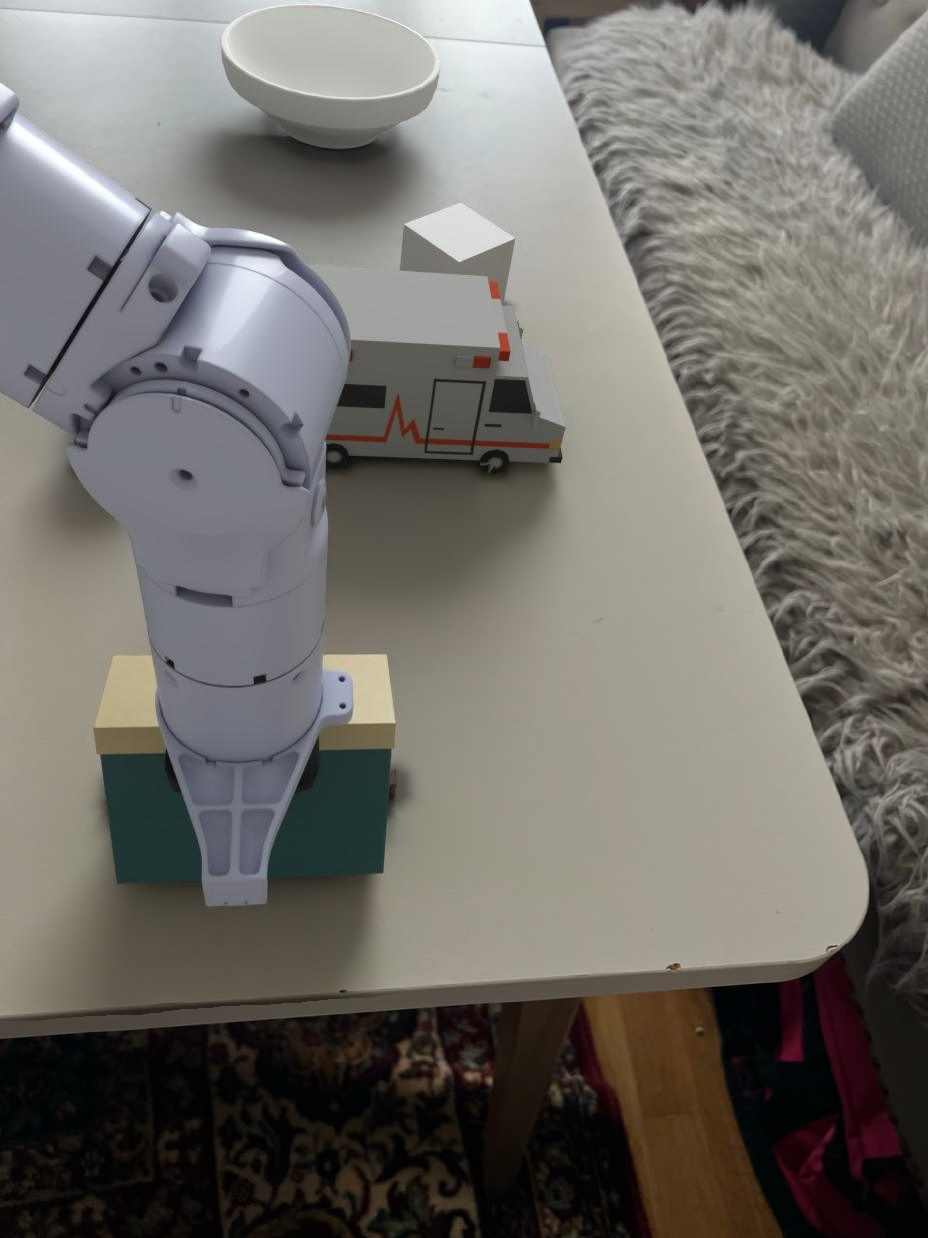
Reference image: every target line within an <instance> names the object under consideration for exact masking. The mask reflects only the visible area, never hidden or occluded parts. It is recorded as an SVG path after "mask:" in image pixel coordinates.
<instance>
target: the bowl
mask: <svg viewBox="0 0 928 1238" xmlns="http://www.w3.org/2000/svg"><path fill="white" fill-rule="evenodd" d="M219 39H220V41H219V42H220V53H221V60H222V61H221V62H222V65H223V69H224V72H225V75H226V78H227V80H228V83H229V85H230V87H231V88H232V89H233V90H234V91H235V92H236V94H237V95H238V96H239V97H240V98H242V99H243V100H245V101H246V102H247V103H249V104H251V105H252V106H254V107H256V108H257V109H259V110H260V111H261V112H262V113H264V114H265V115H267V116H268V117H269V118H271V119H272V120H274V121H275V122H277V123H278V125H279V127H280V128H281V130H283V132H284V133H286V134H287V135H288V136H290V137H291V138H293V139H295V140H297V141H299V142H302V143H304V144H307V145H309V146H314V147H318V148H323V149H337V150H341V149H342V150H343V149H353V148H359V147H364V146H366V145H368V144H371V143H372V142H374V141H376V140H377V139H378V138H379V137H380V135H382V133H384V132H385V131H388V130H389V129H391V128H394V127H396V126H397V125H399V124H401V123H403V122H406V121H408V120H410V119H412V118H415V117H416V116H418V115H420V114H421V113H422V112H423V111H425V110H426V109H427V108H428V107H429V105H430V104H431V102H432V101H433V98H434V95H435V93H436V90H437V87H438V84H439V78H440V72H441V64H442V62H441V58H440V56H439V53H438V51H437V50H436V49H435V47H434V46H433V45H432V43H431V42H430V41H428V40H427V39H426V38H425V36H422V34H421V33H419V32H417V31H415V30H414V29H412V28H410V27H409V26H407V25H405V24H403V23H400V22H398V21H397V20H394V19H392V18H389V17H385V16H382V15H379V14H377V13H373V12H370V11H365V10H361V9H357V8H351V7H346V6H339V5H331V4H321V3H320V4H318V3H292V4H281V5H273V6H268V7H262V8H258V9H256V10H252V11H249V12H246V13H244V14H242V15H241V16H238V17H237V18H235V19H233V20H232V21H231V22H230V23H229V24H228V25H227V26H226V27H225V28H224V29H223V32H222V33H221V36H220V38H219Z"/></svg>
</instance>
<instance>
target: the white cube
mask: <svg viewBox="0 0 928 1238" xmlns="http://www.w3.org/2000/svg"><path fill="white" fill-rule="evenodd" d="M401 240H402V242H401V253H400V263H399V271H413V272H428V273H443V274H458V275H473V276H487V277H488V281H496V282H497V283H498V289H499V294H500V299H501V304H502V305H504V303H505V298H506V292H507V286H508V280H509V276H510V270H511V265H512V259H513V255H514V248H515V244H516V243H515V242H516V237H514V236H513V235H511V234H509V233H508V232H507V231H505V230H503V228H501V227H499V226H497V225H496V224H494V223H493V222H491V221H490V220H489V219H487V218H486V217H484V216H482V215H481V214H480V213H477V212H476V211H475V210H473V209H472V208H470V207H468V206H467V205H466V204H464V203H462V202H458V203H455V204H453V205H450V206H447V207H445V208H443V209H440V210H437V211H435V212H431V213H429V214H426V215H424V216H422V217H418V218H416V219H413V220H410V221H408V222H405V223H403V230H402V239H401Z"/></svg>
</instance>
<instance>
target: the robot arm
mask: <svg viewBox="0 0 928 1238" xmlns="http://www.w3.org/2000/svg"><path fill="white" fill-rule="evenodd" d="M20 104H21V103H20V98H19V96H18V94H17V93H16V92H15V91H13V90H12V89H10V88H9V87H8V86H7V85H5V84H4V83H2V82H1V81H0V393H1V394H3V395H4V396H6V397H7V398H9V399H11V400H12V401H15V403H18V404H19V405H21V406H23V407H24V408H26V409H30V408H31V407H32V405H33V403H34V402H35V404H34V406H33V408H32V412H33V413H34V414H36V415H37V416H40V417H42V418H43V419H45V421H46V420H47V421H48V422H50V423H51V424H53V425H55V426H57V427H59V428H60V429H61V430H63V431H65V432H67V433H68V434H70V435H71V436H73V437H74V438H75V437H77V438H76V442H77V444H78V445H76V444H75V443H68V444H67V445H65V447H64V448H65V449H64V451H65V453H66V456H67V458H68V461H69V463H70V466H71V468H72V470H73V472H74V474H75V475H76V477H77V479H78V480H79V482H80V483H81V485H82V486H83V488H84V489H85V490H86V492H87V493H88V495H90V497H91V498H92V499H93V500H94V501H95V502H96V503H97V504H99V506H100V507H101V508H102V509H104V510H105V511H106V512H107V513H108V514H109V515H111V517H112V518H114V519H115V520H116V521H117V523H119V525H120V526H121V527H122V528H123V530H125V532H126V534H127V536H128V538H129V541H130V544H131V549H132V554H133V560H134V565H135V567H136V568H135V569H136V573H137V579H138V584H139V591H140V596H141V601H142V607H143V613H144V618H145V623H146V630H147V631H146V632H147V635H148V641H149V647H150V655H152V660H153V666H154V671H155V677H156V682H157V688H156V693H155V709H156V715H157V720H158V724H159V728H160V731H161V734H162V737H163V740H164V743H165V746H166V751H165V761H164V765H165V773H166V777H167V780H168V782H169V784H170V787H171V788H172V790H173V791H175V792H177V793H182V795H183V798H184V801H185V804H186V807H187V809H188V812H189V815H190V818H191V821H192V824H193V827H194V830H195V833H196V836H197V839H198V843H199V846H200V850H201V856H202V881H201V885H202V892H203V898H204V902H205V906H206V907H235V906H236V907H239V906H240V907H241V906H255V905H266V904H267V902H268V878H267V870H268V862H269V857H270V853H271V849H272V846H273V844H274V841H275V838H276V835H277V832H278V830H279V828H280V825H281V823H282V821H283V818H284V816H285V813H286V811H287V809H288V806H289V804H290V802H291V799H292V797H293V795H294V794H296V793H298V792H301V791H304V790H308V789H310V788H311V787H312V786H313V784H314V782H315V780H316V778H317V775H318V771H319V733H320V732H321V730H322V729H324V728H325V727H327V726H340V725H344V724H347V723H348V722H349V721H350V720H351V719H352V715H353V707H354V703H353V681H352V678H351V676H350V675H349V674H348V673H347V672H344V671H340V670H326V669H324V668H323V655H324V646H325V645H324V644H325V643H324V642H325V620H326V619H325V617H326V594H327V593H326V592H327V591H326V590H327V566H328V565H327V564H328V543H329V542H328V539H329V517H328V511H327V505H326V503H327V486H326V484H327V483H326V468H327V467H326V442H325V439H326V436H327V433H328V430H329V427H330V424H331V421H332V418H333V415H334V412H335V409H336V406H337V403H338V401H339V398H340V395H341V392H342V390H343V387H344V384H345V380H346V377H347V371H348V363H349V359H350V352H351V337H350V330H349V326H348V322H347V319H346V316H345V314H344V311H343V309H342V307H341V305H340V303H339V301H338V299H337V298H336V296H335V295H334V293H333V292H332V290H331V289H330V288H329V286H328V285H327V284H326V283H325V282H324V280H323V279H322V278H321V277H320V276H319V275H318V274H317V273H316V272H315V271H314V270H312V269H311V268H310V267H309V266H308V264H306V263H305V261H304V260H303V259H302V258H301V256H300V255H299V253H298V252H297V251H296V249H294V248H293V246H291V245H290V244H288V243H286V242H284V241H282V240H280V239H277V238H275V237H272V236H270V235H266V234H264V233H260V232H256V231H253V230H247V229H242V228H230V227H229V228H228V227H220V228H219V227H214V228H213V227H208V226H207V227H206V226H203V225H200V224H198V223H196V222H193V221H192V220H191V219H189V218H187V217H186V216H184V215H183V214H182V213H180V212H179V211H176V212H175V214H174V215H171V214H169V213H167V212H165V211H164V210H157V211H155V212H154V213H153V214H152V215H151V212H152V210H153V209H152V208H151V207H150V206H149V205H147V204H146V203H144V202H143V201H142V200H140V199H139V198H137V197H136V196H135V195H133V194H132V193H131V192H129V191H128V190H126V189H125V188H123V187H122V186H120V185H119V184H118V183H116V182H115V181H114V180H112V179H111V178H110V177H108V176H107V175H105V174H104V173H102V172H101V171H99V170H98V169H97V168H96V167H94V166H92V165H91V164H90V163H88V162H87V161H86V160H84V159H83V158H81V157H80V156H78V155H77V154H76V153H74V152H73V151H71V150H70V149H69V148H67V147H66V146H65V145H63V144H62V143H61V142H59V141H58V140H56V139H55V138H54V137H52V136H51V135H50V134H48V133H47V132H45V131H44V130H42V129H41V128H40V127H38V125H36V124H34V123H33V122H31V121H30V120H28V119H27V118H26V117H24V116H23V115H22V114H21V113H19V112H18V109H19V107H20ZM150 215H151V216H150ZM149 216H150V218H149ZM148 218H149V219H148ZM147 220H148V221H147ZM36 399H37V400H36Z"/></svg>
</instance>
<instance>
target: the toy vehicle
mask: <svg viewBox="0 0 928 1238" xmlns="http://www.w3.org/2000/svg"><path fill="white" fill-rule="evenodd" d="M307 266H309V267H310V268H311V269H312V270H314V271H315V272H316V273H317V274H318V275H319V276H320V277H321V278H322V279H323V280H324V282H325V283H326V284H327V285H328V286H329V288H330V289H331V290H332V292H333V293H334V295H335V296H336V298H337V299H338V301H339V303H340V305H341V307H342V309H343V311H344V314H345V316H346V319H347V322H348V326H349V330H350V337H351V352H350V359H349V363H348V371H347V377H346V380H345V384H344V387H343V390H342V392H341V395H340V398H339V401H338V403H337V406H336V409H335V412H334V415H333V418H332V421H331V424H330V427H329V430H328V433H327V436H326V439H325V442H326V468H329V469H338V468H341V467H343V466H345V465H346V464H348V463H347V462H348V461H349V458H350V456H355V457H383V458H407V459H437V460H461V461H463V460H465V461H479V464H480V465H479V466H480V469H481V470H482V471H483V472H484V473H487V474H491V475H495V474H500V473H502V472H503V471H506V470H507V469H508V467H509V465H510V462H514V463H515V462H516V463H540V464H541V463H543V464H562V461H563V458H564V456H563V452H562V447H561V446H562V443H563V440H564V436H565V431H566V428H567V426H566V422H565V418H564V414H563V410H562V409H563V408H562V404H561V401H560V396H559V391H558V389H557V388H558V387H557V383H556V378H555V373H554V369H553V366H552V360H551V356H550V355H548V354H546V353H543V352H541V351H539V350H537V349H534V348H531V347H529V346H526V345H524V344H523V341H522V338H523V333H524V325H523V323H522V322H521V321H520V320H519V319H517V314H516V310H515V307H514V305H506V304H505V305H504V304H503V305H502V304H501V299H500V294H499V289H498V283H497V282H496V281H488V277H487V276H473V275H458V274H443V273H428V272H413V271H400V270H396V269H382V268H365V267H349V266H337V265H336V266H335V265H320V264H307Z"/></svg>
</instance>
